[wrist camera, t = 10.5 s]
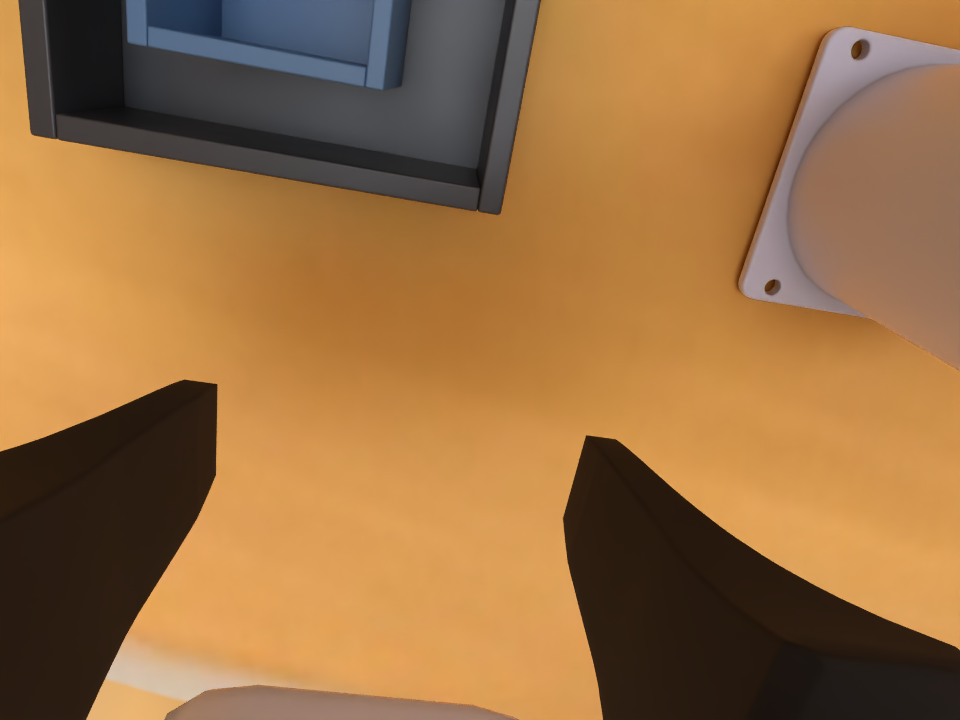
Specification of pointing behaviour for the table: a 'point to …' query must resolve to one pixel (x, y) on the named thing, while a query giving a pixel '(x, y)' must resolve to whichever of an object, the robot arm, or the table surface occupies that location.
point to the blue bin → (283, 35)
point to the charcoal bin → (295, 102)
